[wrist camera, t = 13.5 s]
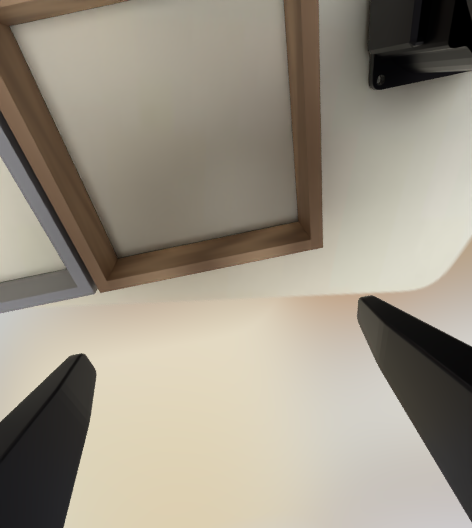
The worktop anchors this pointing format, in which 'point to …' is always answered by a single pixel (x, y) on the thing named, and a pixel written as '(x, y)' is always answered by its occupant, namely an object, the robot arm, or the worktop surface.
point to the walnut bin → (78, 202)
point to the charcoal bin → (59, 282)
